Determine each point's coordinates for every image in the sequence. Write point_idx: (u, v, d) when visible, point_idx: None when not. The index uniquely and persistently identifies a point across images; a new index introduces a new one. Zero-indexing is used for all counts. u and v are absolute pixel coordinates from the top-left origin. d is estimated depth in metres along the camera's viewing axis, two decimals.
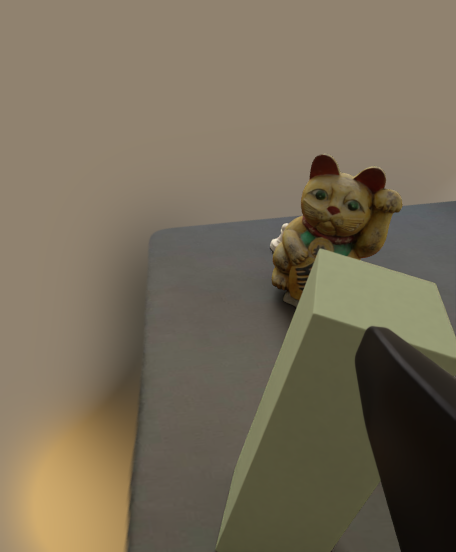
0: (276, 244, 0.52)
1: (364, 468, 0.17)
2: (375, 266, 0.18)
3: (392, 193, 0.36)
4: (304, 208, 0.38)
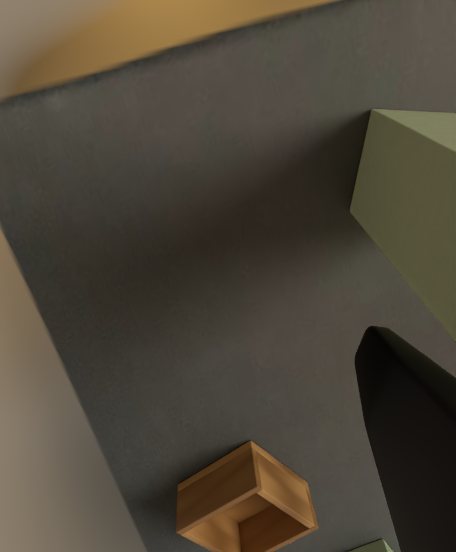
0: None
1: (453, 308, 0.13)
2: None
3: None
4: None
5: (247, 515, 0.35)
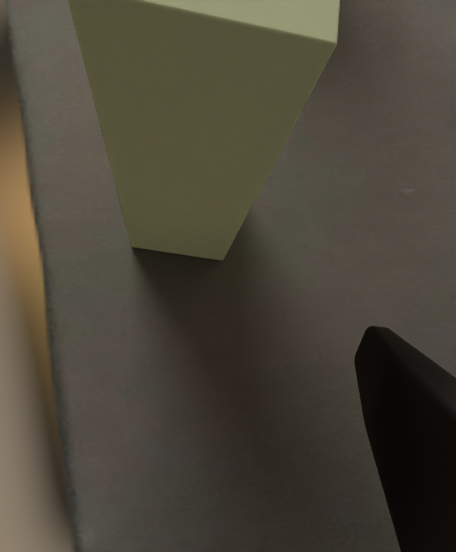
0: None
1: (237, 181, 0.14)
2: None
3: None
4: None
5: None
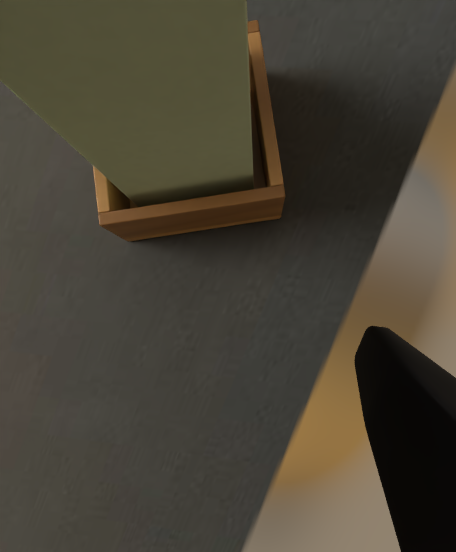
0: None
1: (211, 79, 0.10)
2: None
3: None
4: None
5: None
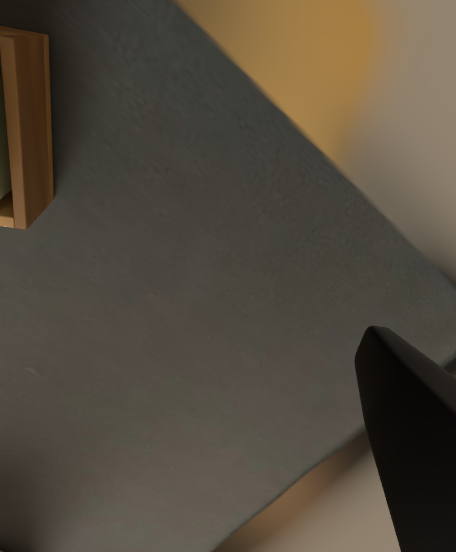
0: None
1: None
2: None
3: None
4: None
5: None
